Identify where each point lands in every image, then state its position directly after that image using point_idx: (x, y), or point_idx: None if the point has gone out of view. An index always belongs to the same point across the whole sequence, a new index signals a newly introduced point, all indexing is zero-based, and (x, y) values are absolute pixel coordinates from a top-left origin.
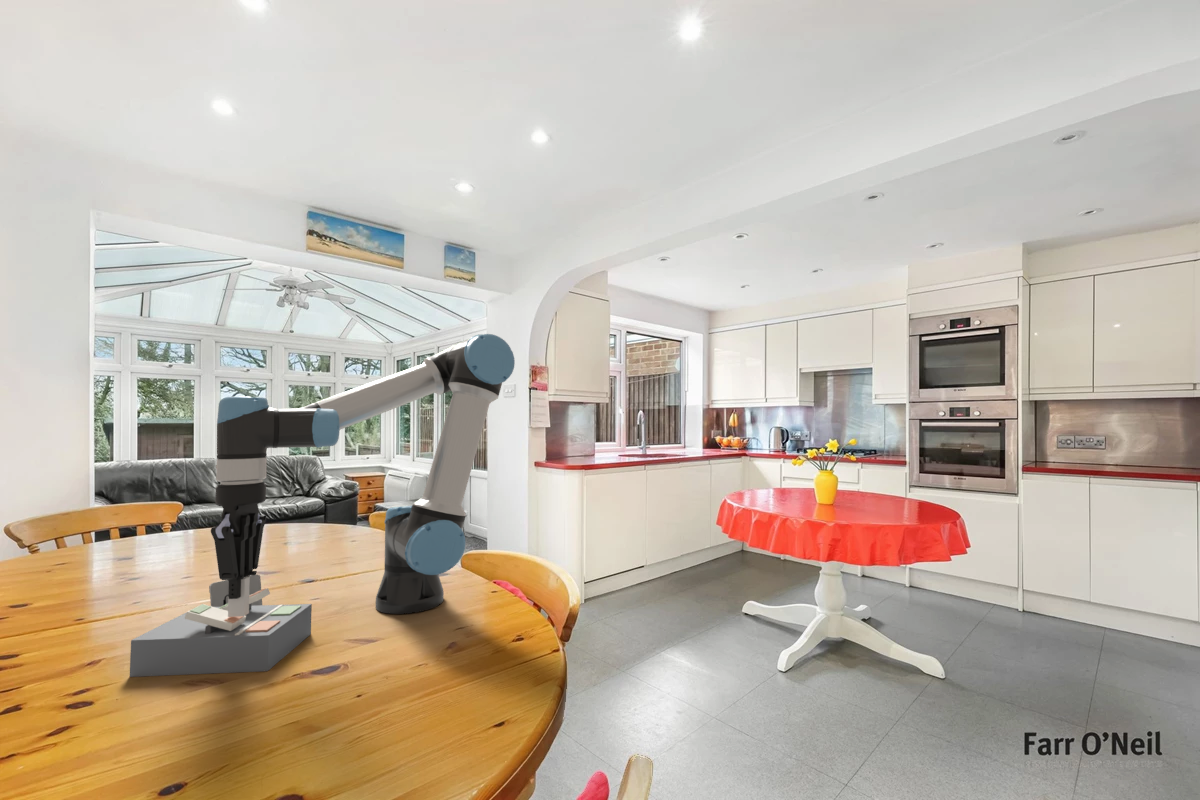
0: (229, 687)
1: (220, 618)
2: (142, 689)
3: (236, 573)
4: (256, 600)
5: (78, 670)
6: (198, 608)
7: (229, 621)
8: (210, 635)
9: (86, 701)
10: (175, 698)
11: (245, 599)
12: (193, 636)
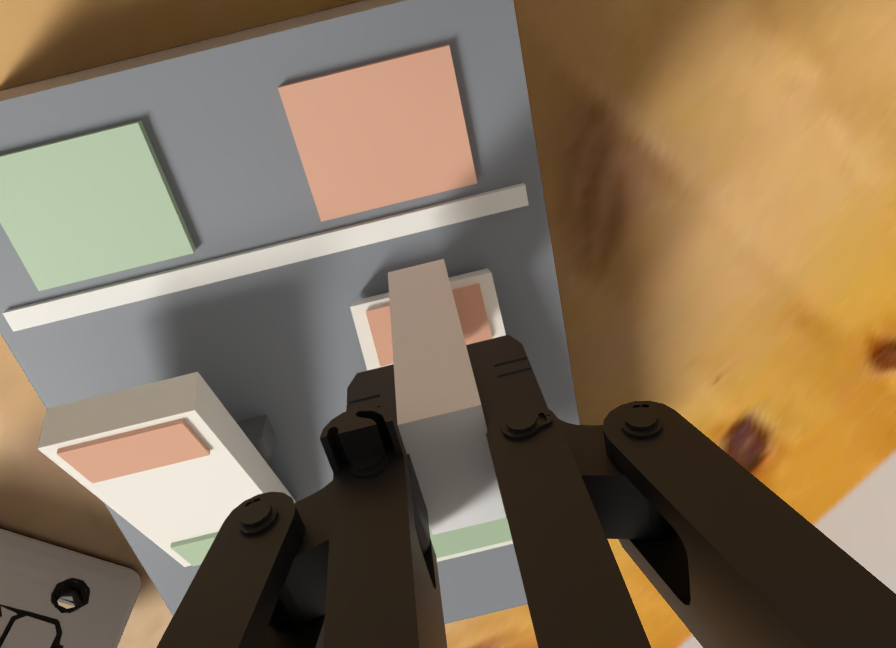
0: (642, 35)
1: None
2: (653, 365)
3: (649, 432)
4: (204, 384)
5: (531, 644)
6: (487, 528)
7: (483, 309)
8: (538, 330)
9: (726, 449)
10: (726, 188)
11: (442, 311)
12: (555, 397)
